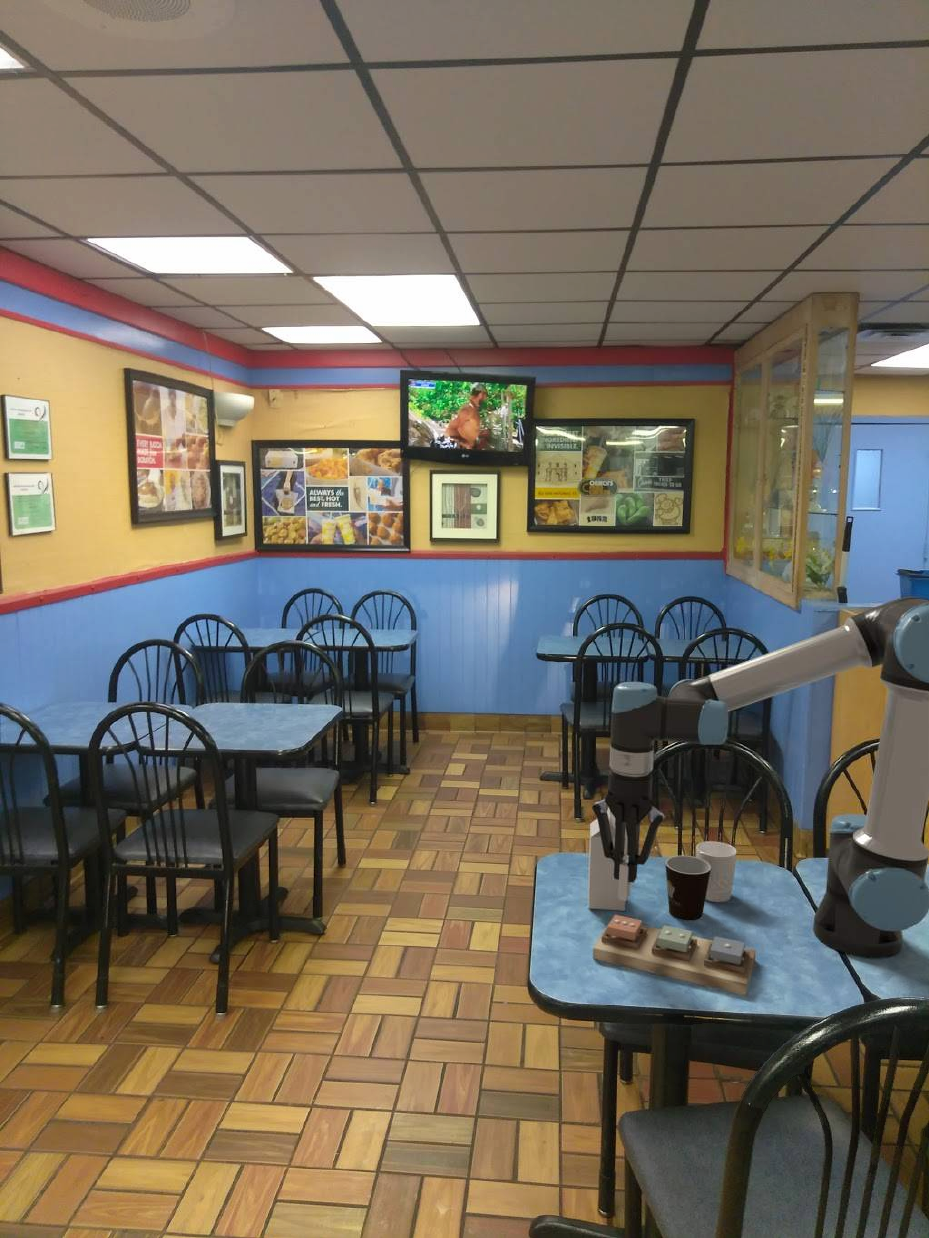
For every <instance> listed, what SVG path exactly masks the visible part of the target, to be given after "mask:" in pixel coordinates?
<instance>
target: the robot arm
mask: <svg viewBox="0 0 929 1238" xmlns="http://www.w3.org/2000/svg"><path fill="white" fill-rule="evenodd" d="M881 665H882V666H881ZM878 666H881V672H880V677H879V680H880V681H881V683H882V684H883V685H884V686H885V688H886V690H887V695H886V700H885V701H886V703H885V707H884V712H883V713H884V714H883V719H882V724H881V725H882V726H881V729H880V730H881V731H880V736H879V742H878V747H877V752H876V760H875V763H874V771H873V777H872V782H871V787H870V795H869V798H868V799H869V800H868V805H867V810H866V815H865V814H858V813H857V814H856V813H848V814H845V813H844V814H840V815H836V816H834V817H833V819H832V820H831V822H830V829H829V831H828V833H829V844H828V857H827V860H828V861H827V870H826V871H827V874H826V890H825V893H824V895H823V897H822V899H821V901H820V903H819V906H818V907H817V910H816V913H815V915H814V917H813V927H812V930H813V933H814V935H815V937H816V938H817V937H818V938H819V939H818V938H817V939H818V940H820V941H821V942H822V943H823V944H825V945H827V946H828V947H830V948H832V949H835V950H837V951H839V952H842V953H845V954H848V955H851V956H852V955H853V956H856V957H863V958H873V959H879V958H889V957H892V956H895V955H897V954H898V953H899V952H901V950H902V948H903V940H904V939H903V931H905V930H909V929H910V928H913V926H916V925H917V924H919V923H920V922H921V921H922V920H923V919H924V918H925V917H926V915H928V912H929V886H928V885H927V883H926V881H925V879H926V873H927V867H928V861H929V849H928V848H927V847H926V845H925V844H924V843H923V841H922V837H923V832H924V831H923V830H924V825H925V821H926V820H925V819H926V816H927V815H926V813H927V810H928V803H929V599H928V598H925V597H924V598H923V597H919V596H904V597H900V598H897V599H893V600H890V601H888V602H885V603H882V604H880V605H877V606H875V607H873V608H870V609H868V610H865V611H863V612H860V613H857V614H855V615H852V616H850V617H847V618H846V620H845V622H844V624H843V625H842V626H839V627H836V628H834V629H831V630H828V631H825V632H822V633H820V634H816V635H814V636H812V637H809V638H806V639H804V640H801V641H798V642H795V643H793V644H790V645H788V646H787V645H786V646H785V647H782V648H781V647H780V648H779V649H776V650H774V651H771V652H767V653H766V654H763V655H760V656H757V657H753V658H751V659H749V660H747V661H743V662H741V663H738V664H734V665H733V666H730V667H727V668H724V669H722V670H719V671H716V672H714V673H711V674H708V675H706V676H702V677H699V678H697V679H689V678H687V679H681V680H680V681H677V682H676V683H675V684H674V685H672V687H671V689H670V691H669V694H668V697H665V696H664V697H663V696H660V695H659V694H658V689H657V687H656V686H655V685H653V684H652V683H647V682H643V681H624V682H621V683H619V684H617V685H616V686H615V687H614V688H613V693H612V694H613V695H612V696H613V697H612V703H611V705H612V706H611V716H610V717H611V719H610V721H611V722H610V744H609V745H610V748H609V765H608V766H609V768H610V769H609V771H608V786H607V794H606V795H605V797H604V799H603V800H596V801H595V802H594V804H593V805H592V807H591V808H592V811H593V813H594V814H595V817H596V819H598V824H599V830H600V835H601V840H602V846H603V851H604V856H605V857H606V858H610V859H612V860H613V861H614V878H615V879H617V880H619V890H618V899H619V900H624V901H625V902H627V900H628V899H629V897H630V896H631V885H632V884H631V883H633V884H634V882H635V881H636V880H637V878H638V877H637V876H638V865H642V866H644V865H645V864H646V863H647V861H648V859H649V857H650V854H651V852H652V848H653V844H654V842H655V839H656V836H657V833H658V830H659V826H660V825H661V824H662V823H663V821H664V820H665V818H666V813H665V812H664V811H659V810H658V809H657V808H656V807H654V805H655V803H654V801H653V799H652V790H653V789H652V788H653V787H652V785H653V774H652V773H651V772H652V771H653V769H654V756H655V755H654V753H655V751H654V750H655V741H661V742H662V741H663V742H665V741H666V742H676V743H687V744H695V745H696V744H697V745H703V746H707V745H723V744H724V743H725V742H726V740H727V736H728V731H729V730H728V729H729V728H728V727H729V712H731V711H734V710H737V709H740V708H742V707H745V706H749V705H751V704H754V703H756V702H757V703H758V702H760V701H763V700H766V699H768V698H772V697H774V696H777V695H780V694H783V693H786V692H788V691H791V690H794V689H796V688H797V689H798V688H801V687H803V686H805V685H809V684H812V683H814V682H817V681H820V680H823V679H826V678H829V677H831V676H834V675H837V674H841V673H843V672H846V671H849V670H852V669H854V668H858V667H865V668H867V669H872V668H875V667H878ZM608 807H609V810H610V812H611V813H612V814H613V816H614V817H615V827H616V828H615V847H614V845H613V840H612V835H611V829H610V824H609V819H608V814H607V811H608ZM648 814H650V817H649V821H650V825H649V826H648V830H647V833H646V836H645V839H644V842H643V845H642V849H641V851H640V850H639V849H640V832H641V831H640V830H641V829H640V828H641V824H642V823H641V822H642V821H643V820H644V819H645V817H646V816H648ZM627 823H629V825H628V826H629V828H628V829H629V841H628V855H627V860H625V859H624V860H623V857H624V856H625V854H624V847H625V829H626V828H627V826H626V825H627ZM626 830H627V829H626ZM639 851H640V854H639Z"/></svg>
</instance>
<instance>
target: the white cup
mask: <svg viewBox="0 0 929 1238" xmlns="http://www.w3.org/2000/svg"><path fill="white" fill-rule="evenodd" d="M695 848H696V849H695V850H696V851H695V852H696V853H695V857H696V858H700V859H702V860H705V861H706V862H708V863H709V864H710V866H711V871H710V876H709V882H708V887H707V893H706V898H705V901H707V900H708V902H713V903H725V902H727V901H730V900H731V897H732V892H733V891H732V890H733V885H734V880H735V878H734V877H735V869H736V861H737V853H738V852H737V849H736V848H735V847H734V846H732V845H731V844H728V843H725V842H722V841H714V840H713V841H712V840H710V841H702V842H699V843H698V844H696V847H695Z"/></svg>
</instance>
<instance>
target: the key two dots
mask: <svg viewBox="0 0 929 1238" xmlns="http://www.w3.org/2000/svg"><path fill="white" fill-rule="evenodd" d="M692 936H693V931H692V930H688V929H683V928H677V927H673V926H668V925H663V926H662V930H661V932H660V934H659V936H658V941H657V946H660V947H664V948H669V949H673V950H677V951H682V952H687V949H688V947H689V945H690V943H691V940H692Z"/></svg>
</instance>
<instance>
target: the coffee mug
mask: <svg viewBox="0 0 929 1238" xmlns="http://www.w3.org/2000/svg"><path fill="white" fill-rule="evenodd" d="M664 864H665V875H666V877H665V878H666V888H667V889H666V890H667V902H668V903H667V904H668V913H669V914H670V915H671V916H672V917H673V918H675V919H677V920H680V921H686V922H692V921H693V922H694V921H698V920H700V919H702V917H703V914H704V909H705V903H706V900H705V898H706V893H707V887H708V882H709V876H710V871H711V866H710V864H709V863H708V862H706V861H705V860H702V859H700V858H696V856H691V855H674V856H671V857H667V859H666V860H665V863H664Z"/></svg>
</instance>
